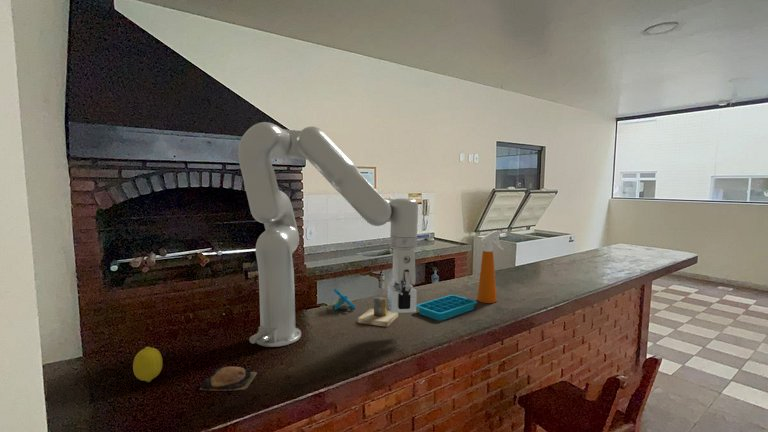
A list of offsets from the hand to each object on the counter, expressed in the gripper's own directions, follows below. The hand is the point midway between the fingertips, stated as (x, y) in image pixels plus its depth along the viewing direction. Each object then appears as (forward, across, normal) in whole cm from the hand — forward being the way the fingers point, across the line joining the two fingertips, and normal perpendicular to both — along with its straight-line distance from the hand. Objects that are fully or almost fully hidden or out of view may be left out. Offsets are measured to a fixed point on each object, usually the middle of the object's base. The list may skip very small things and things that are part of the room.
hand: (401, 303), depth 107 cm
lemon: (+12, -16, +60) cm, 63 cm away
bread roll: (+12, -18, +42) cm, 48 cm away
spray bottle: (+9, +28, -40) cm, 50 cm away
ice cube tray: (+10, +19, -20) cm, 29 cm away
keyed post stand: (+10, +14, +4) cm, 18 cm away
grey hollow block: (+1, 0, 0) cm, 1 cm away
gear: (+10, +27, +15) cm, 33 cm away
